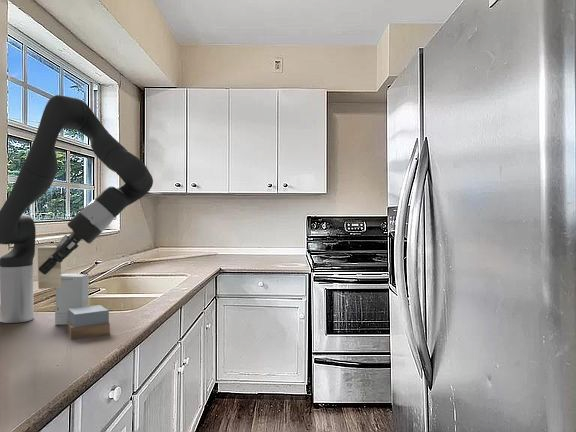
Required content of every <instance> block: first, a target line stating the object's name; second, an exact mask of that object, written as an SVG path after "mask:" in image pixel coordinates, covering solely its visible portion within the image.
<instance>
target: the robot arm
mask: <svg viewBox="0 0 576 432" xmlns="http://www.w3.org/2000/svg"><path fill="white" fill-rule="evenodd" d="M62 130H69V131H72V130H73V131H78V132H79V133H82V134H83V136H85V137H86V138H87V139H88V140H89V141H90V145H91V149H92V152H93V154H94V155H95V156H96V157H97V159H99V161H100V162H102V163H103V164H104V166H106V167H107V168H108V169H109V170H111V171H112V172H114V173H116V174H117V175H118V176H119V177H120V179H121V180H122V181H123V182H124V183H123V184H122V185H120V186H119V187H115V186H108V187H106V188H105V189H104V190H102V191H101V192H100V193H99V194H98V196H96V197H95V198H94V199H93V200H92V201H90V202H89V203H88V204H87V205H85V207H84V208H82V209H81V210H80V211H79V212H78V213H77V214H76V215H75V216H74V217H73V218H72V219H71V220H70V221H68V223H67V226H68V228H70V229H71V230H72V232H71V233H70V234H69V235H67V234H65V235H64V236H62V238H61V240H60V241H59V242H58V243H57V244H55V245H54V246H57V247H56V249H55V250H56V251H55V252H54V253H53V254H52V255H50V258H51V259H50V258H49V259H48V260H47V261H45V262H44V263H43V264H42V265H41V266H40V267H39V271H40V272H42V273H43V274H47V273H48V272H49V271H50V270H51V269H52V268H53V267H54V266H55V265H56V263H57V264H58V263H60V262H61V263H62V262H63V260H65V259H66V258H67V257H69V256H70V254H71V253H72V252H73V251H76V250H77V249H78V248H79V245H78V244H79V243H80V242H81V240H83V241H84V242H86V243H87V244H91V243H92V242H93V241H95V240H96V239H97V238H98V237H99V236H100V235H101V234H102V233H103V232H104V231H105V230H106V229H107V228H108V227H109V226H110V225H111V223H112V222H113V220H115V218H117V216H118V215H119V214H120V213H122V212H123V210H124V209H126V207H128V206H130V205H131V204H133V203H136V202H137V201H138V200H140V199H142V198H143V197H144V196H145V195H147V194H149V192H150V191H151V189H152V187H153V184H154V178H153V176H152V174H151V173H150V171H149V169H148V168H147V166H146V165H145V163H144V162H143V161H142V160H141V159H140V158H139V157H137V156H136V155H134V154H133V153H131V152H130V151H128V150H127V149H126V147H125V146H123V145H122V143H120V142H119V141H118V140H117V139H115V137H113V136H112V135H111V133H110V132H109V131H108V130H107V129H106V128H105V126H104V125H103V124H102V122H101V121H100V120H99V118H98V117H97V116H96V114H95V113H94V112H93V110H92V109H91V108H90V106H89V105H88V104H87V103H86V102H85V101H84V100H82V99H79V98H76V97H70V96H67V95H60V94H54V95H52V97H50V98H49V99H48V101H47V102H46V105H45V106H44V108H43V111H42V115H41V118H40V121H39V125H38V127H37V131H36V134H35V137H34V139H33V141H32V143H31V145H30V146H31V147H30V148H29V151H28V153H27V155H26V157H25V160H24V161H23V163H22V166H21V168H20V171H19V173H18V175H17V177H16V180H15V183H14V184H13V187H12V189H11V190H10V193H9V195H8V197H7V199H6V200H5V202H4V203H3V205H2V207H1V208H0V245H13V247H12V249H11V250H10V251H9V252H8V253H6V254H4V255H2V256H0V323H4V324H14V323H15V324H16V323H17V324H19V323H24V322H29V321H32V320H34V319H35V318H34V317H35V316H34V315H35V314H34V312H35V309H34V308H35V307H34V300H35V299H34V258H35V254H36V237H37V236H36V235H37V234H36V231H37V230H36V223H35V221H34V218H33V217H32V216H31V215H29V214H25V213H24V212H25V211H26V210H27V209H28V208H29V207H30V206H31V205H32V204H34V203H35V202H36V201H38V199H40V198H41V197H42V196H44V195H45V194H46V193H47V192H48V191H49V189H50V188H51V186H52V183H53V181H54V180H55V178H56V175H57V173H58V170H59V169H58V168H59V164H58V163H59V161H58V158H57V157H58V156H57V153H56V143H57V141H58V137H59V135H60V133H61V132H62ZM60 247H61V248H60ZM58 253H60V254H61V257H60V256H59V255H58Z"/></svg>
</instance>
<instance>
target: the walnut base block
mask: <svg viewBox="0 0 576 432" xmlns="http://www.w3.org/2000/svg"><path fill="white" fill-rule="evenodd" d="M110 325H111V324H110V322H109V323H102V324H95V325H88V326H80V327H74V326H73V325H72V324H71V323H70V322H69V321H68V325H67V334H68V335H69V337H70V339H71V340H76V339H83V337H85V338H91V337H90V336H93V337H101V336H107V335H111V329H110V328H111V326H110Z"/></svg>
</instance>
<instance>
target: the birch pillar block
mask: <svg viewBox="0 0 576 432" xmlns="http://www.w3.org/2000/svg"><path fill="white" fill-rule="evenodd" d="M56 247H57V246H55V245H46V246H45V245H43V246H37V278H38V279H37V284H38V285H37V286H38V290H43V289H44V290H45V289H46V290H47V289H56V288H60V287H61V274H62V262H60V263H58V264H57V263H56V265H55V266H54V267H53V268H52V269H51V270H50V271H49V272H48V273H47V274H43V273H42V272H40V271H39V267H40V266H41V265H42V264H43V263H44V262H45V261H47V260H48V259H49V258H50V255H52V254H53V253H54V252H55V251H56V250H55V249H56ZM60 248H61V247H60ZM58 255H59V256H60V257H61V254H60V253H58ZM50 259H51V258H50Z"/></svg>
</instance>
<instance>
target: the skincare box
mask: <svg viewBox="0 0 576 432" xmlns="http://www.w3.org/2000/svg"><path fill="white" fill-rule="evenodd" d="M89 279H90V275H89V274H85V273H84V274H82V273H63V274H62V273H61V287H60V288H55V308H54V324H55V326H57V325H59V326H60V325H62V326H63V325H67V326H68V309H70V308H78V307H87V306H89V288H90V286H89V285H90V282H89Z"/></svg>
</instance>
